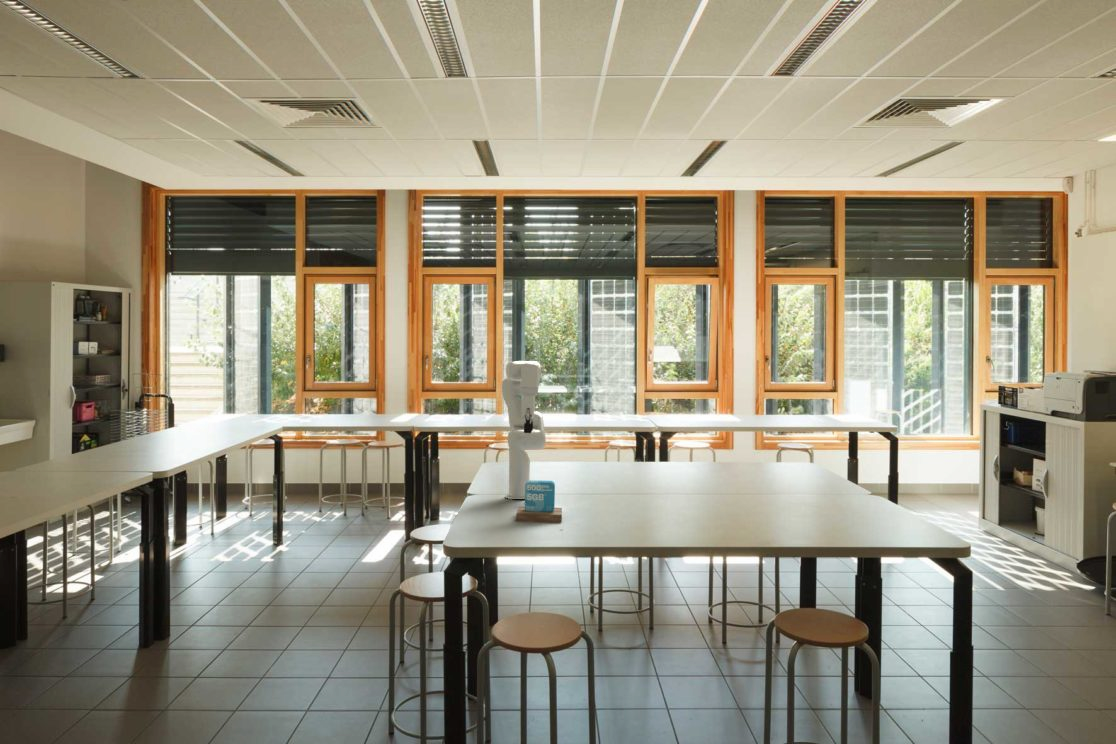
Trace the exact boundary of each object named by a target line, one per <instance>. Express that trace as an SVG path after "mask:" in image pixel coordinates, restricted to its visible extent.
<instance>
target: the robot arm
mask: <svg viewBox="0 0 1116 744" xmlns="http://www.w3.org/2000/svg"><path fill="white" fill-rule="evenodd" d="M505 374H506V378H504V379H503V380H502V382H501V393H502V398H503V401H504V403H505V405H506V407H507V414H508V423H509V428H510V429H511V431H509V432H508V434H507V444H508V445H507V446H508V493H505V496H504V498H505V497H506V499H507V498H508V499H507V500H512V499H525V484H526V482H527V481H528V480H531V479H530V478H531V477H530V476H531V475H530V474H531V471H530V468H531V465H530V464H531V461H530V457H529V456H528V454H527V453H526V452H525V451H540V450H544V448H545V447H546V444H547V439H546V438H547V437H546V430H545V424H544V417H543V415H542V414H541V413H540V412H539V411H536V410H535V407H536V396H538V395H539V388H540V387H539V386H540V381H541V376H542V366H541V365H540V363H539V362H538V361H536V360H535V361H534V360H528V361H527V360H516V361H508V362H507V364H506V366H505ZM519 396H522V399H521V398H520V397H519Z"/></svg>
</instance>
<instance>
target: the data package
mask: <svg viewBox="0 0 1116 744" xmlns="http://www.w3.org/2000/svg"><path fill="white" fill-rule="evenodd" d="M555 489H556V483H555V482H554V481H553V480H536V479H535V480H532V479H530V480H528V481H527V482H526V484H525V500H524V507H525V510H526V511H528V512H552V511H553V510H554V508H555V504H556V503H555V495H556V493H555V492H556V490H555Z"/></svg>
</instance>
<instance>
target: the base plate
mask: <svg viewBox="0 0 1116 744" xmlns="http://www.w3.org/2000/svg"><path fill="white" fill-rule="evenodd" d="M562 511H563V508H562V507H554V510H553V511H552V512H528V511H526V510H525V506H518V507H517V511H516V518H515V520H516V521H534V522H533V523H557V522H562V523H563V521H562V519H563V514H562V513H563V512H562ZM516 521H515V522H516Z"/></svg>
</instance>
